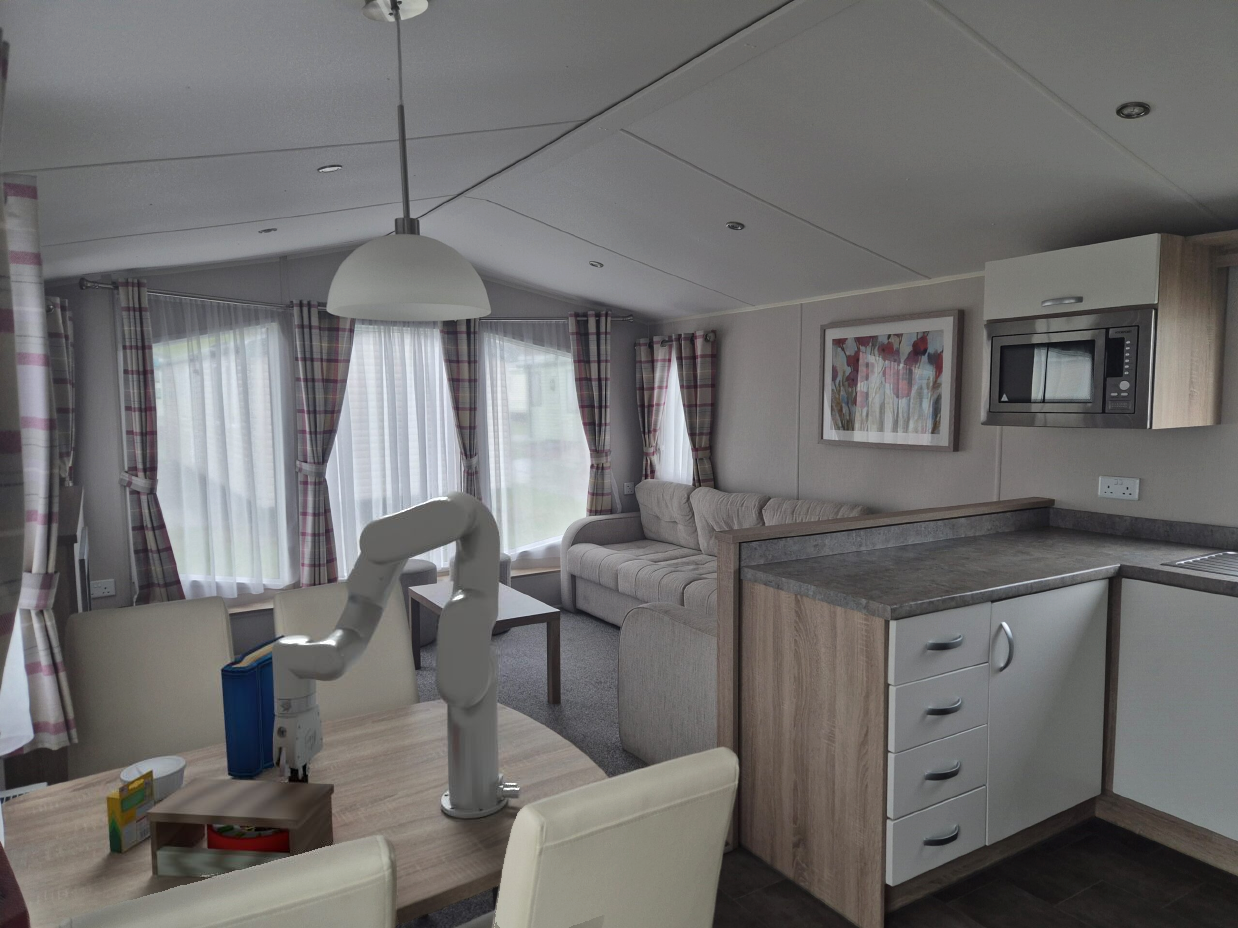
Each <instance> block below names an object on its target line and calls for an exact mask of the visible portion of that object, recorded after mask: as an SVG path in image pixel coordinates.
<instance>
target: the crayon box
mask: <svg viewBox="0 0 1238 928" xmlns="http://www.w3.org/2000/svg"><path fill="white" fill-rule="evenodd" d="M155 803H156V802H155V801H154V786H153V770H151V771H149V772H147V773H145V774H143V775H141V776H140V777H138V778H136V779H134V780H132V781H130V782H129V783H127V784H125V785H121V786H120V787H118V790H117V791H116V792H113V793H112V794H109V795H108V796H106V809H107V825H108V839H109V840H108V841H109V851H110V853H119V854H125V853H126V852H127V851H128V850H130V849H131V848H134V847H135V846H137V844H139V843H142V841H144V840H145V839H147V838H149V837H150V821H147V813H146V812H147V811H149V810H150V809H151V808H153V807H154V806H156V804H155Z"/></svg>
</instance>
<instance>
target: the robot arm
mask: <svg viewBox="0 0 1238 928" xmlns="http://www.w3.org/2000/svg"><path fill="white" fill-rule="evenodd" d="M492 513H493V512H492V511H490V509H489V508H488V506H486V505H485V504H484V502H482V501H481V500H480V499H478V498H477V497H476V496H474V495H471V494H469V493H467V492H463V491H459V490H458V491H447V492H445V493H443V494H441V495H438V496H436V497H435V498H431V499H429V500H427V501H425V502H422V503H419V504H416V505H414V506H412V507H409V508H406V509H404V510H401V511H399V512H395V513H394V512H391V513H386V514H384V515H382V516H380V517H377V518H375V519H373V520H372V521H370V522H369V523H367V524H366V525H365V526H364V528H363V529H362V531H361V533H360V536H359V541H358V543H359V544H358V545H359V550H360V553H359V555H358V557H357V558H356V561H355V563H354V565H353V567H352V569H351V571H350V573H349V574H348V576H347V578H346V581H345V588H346V591H347V600H346V603H345V606H344V608H343V610H342V613H341V615H340V617H339V619H338V621H337V623H336V625H335V626H334V629H333V630H332V631H331V633H330V634H329V635H327V636H326V637H325V638H323V639H320V640H318V641H317V642H315V641H314V640H315V639H313V637H310V636H309V635H302V634H297V635H296V634H294V635H288V636H285V637H283V638H281V639H278V640H277V641H276V642H275V643H274V644H273V648H272V660H273V688H274V713H275V714H276V716H275V722H274V733H273V759H274V765H275V766H274V767H275V768H276V769H279V770H278V777H279V778H286V779H288V780H287V782H299V783H309V773H310V770H311V760H312V759H313V758H314V757H316V756H317V755H318V754H319V753H320V752H321V751H322V749H323V746H324V741H323V727H322V726H323V725H322V717H321V713H320V712H321V711H320V707H319V703H318V701H317V700H318V697H317V695H318V694H317V692H318V691H317V681H320V682H332V681H333V682H334V681H336V680H338V679H340V678H342V677H343V676H344V675H346V673H347V672H348V671H350V669H351V668H352V667H354V665H355V664H356V663H358V661H359V660H360V659H361V658H362V657H363V655H364V653H365V651H366V649H367V648H368V646H369V644H370V642H371V640H372V638H373V636H374V634H375V632H376V630H377V628H378V627H379V624H380V622H381V619H382V617H383V614H384V612H385V609H386V608H387V605H388V602H389V599H390V597H391V595H392V593H393V591H394V589H395V587H396V584H397V583H398V581H399V579H400V577H401V575H402V573H403V571H404V569H405V567H406V565H407V563H408V561H409V559H412V558H414V557H417V556H419V555H423V554H426V553H428V552H431V551H434V550H436V549H439V548H442V547H444V546H447V545H449V544H452V543H454V542H455V556H454V562H453V563H454V565H453V584H452V592H451V596H450V598H449V600H448V601H447V602H446V603H445V605H444V607H443V608H442V610H441V613H440V616H439V619H438V625H437V626H438V627H437V640H436V655H435V656H436V657H435V658H436V659H435V670H434V671H435V676H434V677H435V678H434V680H435V681H434V682H435V683H434V684H435V687H436V691H437V694H438V695H439V698H440V699H441V700H442V701H443V703H444V702H445V704H446V731H447V734H446V737H447V768H448V770H447V773H448V775H447V776H448V779H447V780H448V790H447V791H445V792H444V793H443V794H442V796H441V798H440V808H441V810H442V811H443V813H445V814H446V815H448V816H450V817H452V818H458V819H478V818H483V817H486V816H490V815H493V814H495V813H497V812H498V811H500V810H501V809H502V808H504V806H505V805H506V804H507V802H508V798H509V799H517V800H518V799H519V800H520V798H521V794H522V793H521V787H518V783H517V782H506V781H505V780H504V773H500V772H499V733H498V732H499V729H498V727H499V725H498V723H499V721H498V717H499V716H498V693H499V692H498V691H499V690H498V687H499V660H498V657H497V656H498V655H497V653H496V651H495V648H493V646H492V635H493V634H492V633H493V628H494V626H495V625H496V623H497V620H498V617H499V591H500V589H499V588H500V567H501V566H500V562H501V561H500V560H501V559H500V558H501V539H500V538H501V536H500V532H499V531H500V530H499V527H498V524H497V521H496V519H495V517H494V515H493V514H492Z"/></svg>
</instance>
